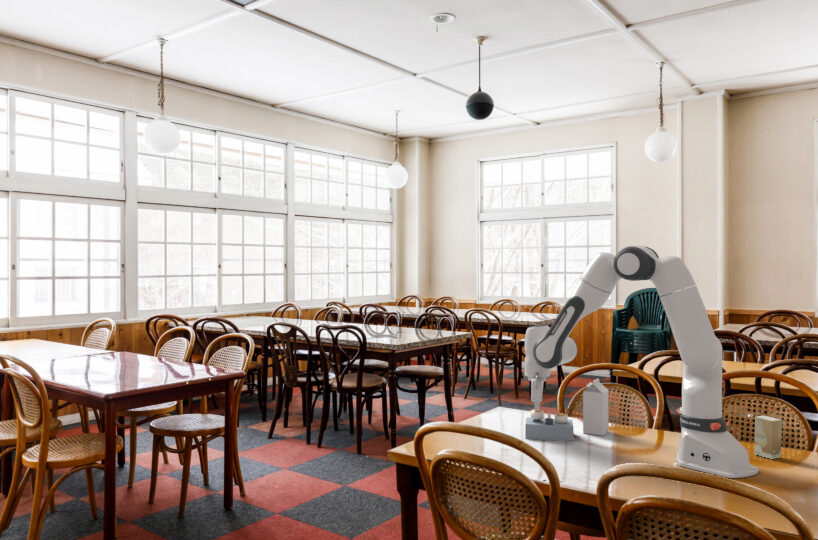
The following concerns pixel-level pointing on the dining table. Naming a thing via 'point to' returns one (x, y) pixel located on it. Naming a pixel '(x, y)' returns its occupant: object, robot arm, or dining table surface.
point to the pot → (549, 420)
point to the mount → (548, 430)
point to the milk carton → (595, 409)
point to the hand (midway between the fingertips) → (536, 410)
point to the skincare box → (768, 437)
